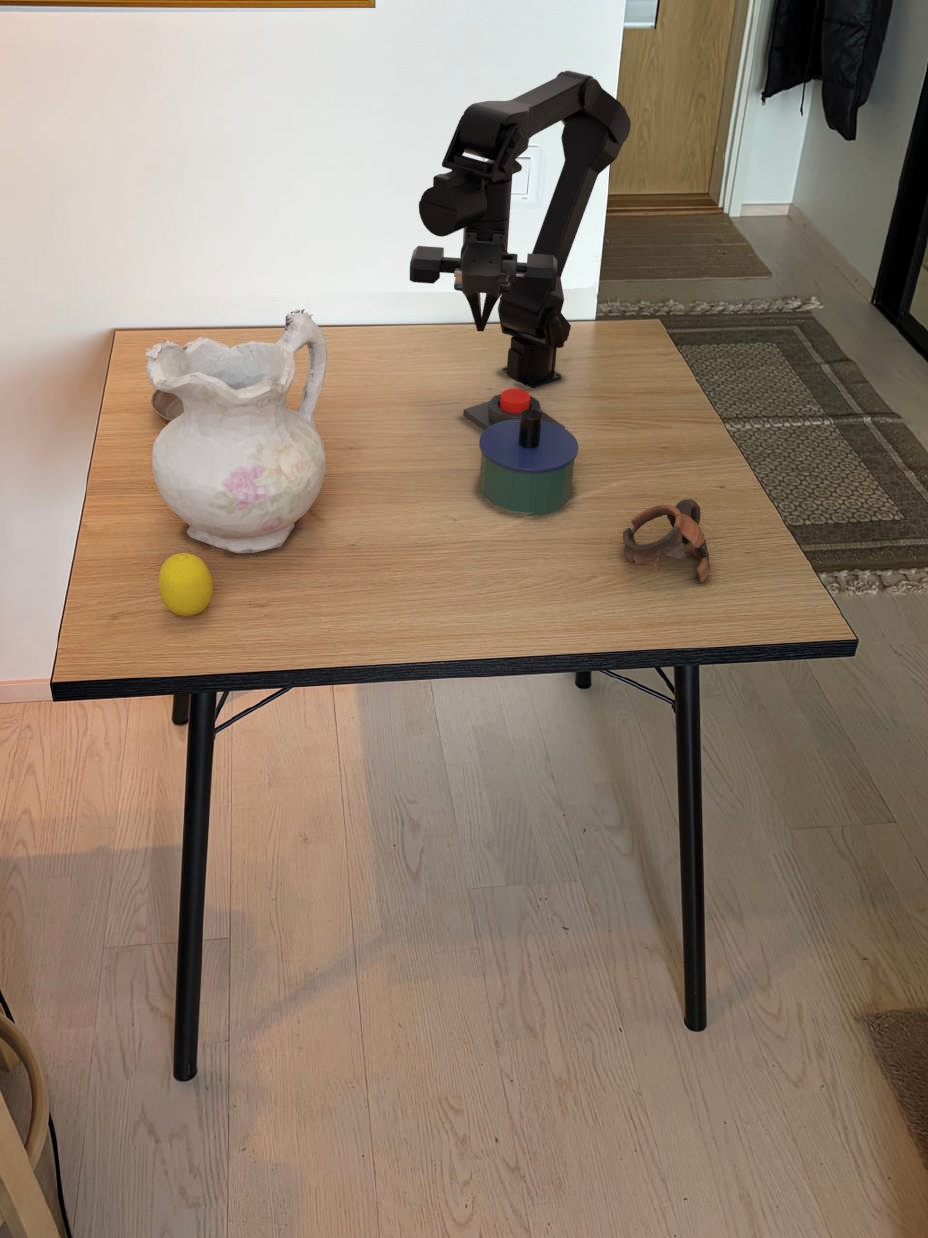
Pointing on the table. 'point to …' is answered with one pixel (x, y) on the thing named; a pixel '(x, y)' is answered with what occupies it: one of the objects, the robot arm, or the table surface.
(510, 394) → the button
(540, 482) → the pot
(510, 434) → the lid
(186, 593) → the lemon
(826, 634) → the table surface
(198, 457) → the ceramic pitcher
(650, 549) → the broken clay ring
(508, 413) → the switch block
